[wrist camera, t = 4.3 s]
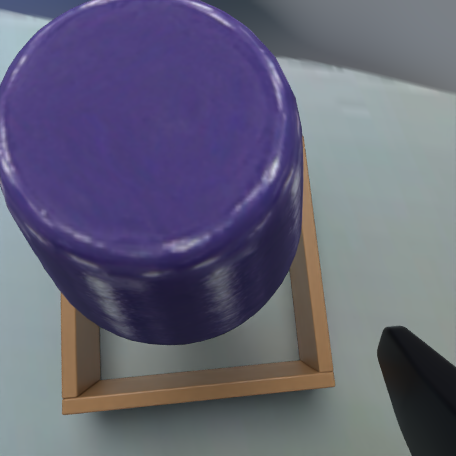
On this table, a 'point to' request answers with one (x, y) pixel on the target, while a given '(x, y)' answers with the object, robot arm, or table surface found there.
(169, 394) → the box
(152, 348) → the table surface
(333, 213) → the table surface
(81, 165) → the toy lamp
